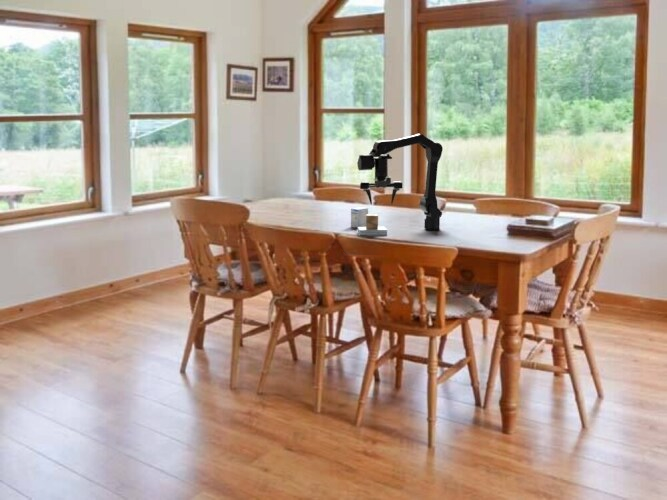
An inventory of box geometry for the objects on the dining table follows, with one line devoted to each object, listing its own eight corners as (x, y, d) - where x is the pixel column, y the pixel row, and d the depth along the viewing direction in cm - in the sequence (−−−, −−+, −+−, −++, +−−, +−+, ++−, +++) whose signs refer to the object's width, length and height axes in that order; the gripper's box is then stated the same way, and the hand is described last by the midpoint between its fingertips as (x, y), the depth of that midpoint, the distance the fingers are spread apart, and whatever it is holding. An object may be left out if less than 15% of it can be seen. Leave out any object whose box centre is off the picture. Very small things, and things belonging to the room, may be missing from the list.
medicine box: (360, 225, 366) (360, 207, 364) (368, 226, 363) (368, 207, 361) (350, 227, 360) (350, 208, 358) (358, 228, 357) (358, 209, 355)
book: (384, 233, 346) (384, 226, 345) (386, 236, 337) (387, 229, 336) (357, 233, 345) (357, 226, 344) (359, 236, 336) (359, 230, 336)
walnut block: (378, 227, 342) (378, 214, 341) (377, 229, 337) (377, 215, 336) (366, 227, 343) (367, 214, 342) (366, 229, 338) (366, 215, 337)
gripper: (359, 171, 333) (359, 207, 336) (402, 170, 332) (402, 206, 335) (360, 169, 344) (361, 203, 347) (402, 168, 343) (402, 203, 346)
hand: (381, 204), depth 344 cm, fingers open, 9 cm apart
